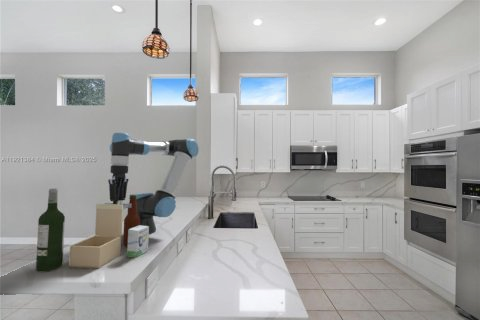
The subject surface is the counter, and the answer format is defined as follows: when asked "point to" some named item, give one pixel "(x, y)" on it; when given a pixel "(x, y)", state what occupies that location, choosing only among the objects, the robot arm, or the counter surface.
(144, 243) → the ink box
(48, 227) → the wine bottle
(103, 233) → the flap
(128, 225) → the bottle
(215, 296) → the counter surface
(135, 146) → the robot arm
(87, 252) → the carton
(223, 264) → the counter surface
